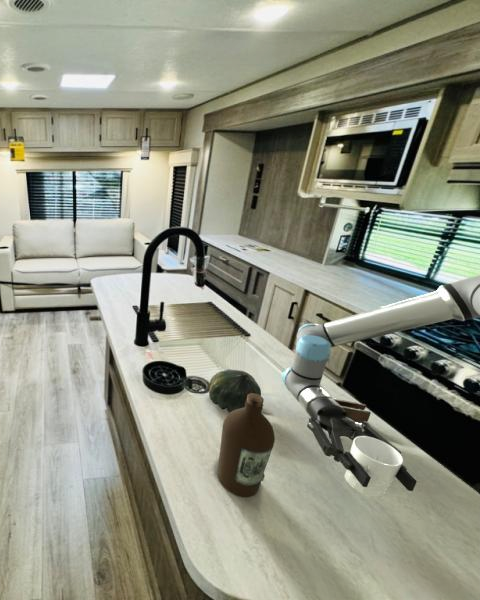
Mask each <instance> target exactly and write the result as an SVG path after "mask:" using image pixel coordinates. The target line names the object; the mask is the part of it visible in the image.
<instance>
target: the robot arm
mask: <svg viewBox="0 0 480 600" xmlns="http://www.w3.org/2000/svg"><path fill="white" fill-rule="evenodd" d="M473 319H480V274H479V275H474V276H471V277H467V278H464V279H460V280H457V281H453V282H450V283H446V284H444V285H440V286H439V287H438V288H437V290H436V291H433V292H429V293H426V294H422V295H418V296H415V297H412V298H408V299H405V300H401V301H398V302H394V303H391V304H388V305H384V306H380V307H377V308H373V309H369V310H367V311H363V312H359V313H356V314H353V315H349V316H346V317H342V318H339V319H335V320H331V321H328V322H323V323H320V324H318V323H306V324H305V323H304V324H302V325H301V326H300V327H299V329H298V331H297V333H296V337H295V338H296V343H295V351H294V357H293V361H292V365H291V366H289V367H287V368H286V369H285V370H284V371H283V372H282V374H281V380H282V382H283V384H284V385H285V387H286V389H287V390H288V391H289V393H291V395H292V396H293V397H294V398H295V400H297V402H298V403H299V405H300V406H301V407H302V409H304V411H305V412H306V414H308V416H309V418H308V421H307V424H306V427H307V428H308V430H310V431H311V432H312V434H313V436H314V438H315V440H316V441H317V443H318V445H319V446H320V449H321V450H322V452H323V454H324V455H325V456H326V457H331V456H332V457H333V461H334V462H337V463H341V464H342V466H343V467H344V468H345V470H346V469H347V470H350V471H351V472H352V474H353V475H354V476H355V477H356V479H357V480H358V481H359V483H360V484H361V485H362V486H363V487H367V486H368V483H369V481H370V479H371V477H370V476H369V475H368V474H367V472H366V471H365V470H364V469H363V468H362V466H361V465H360V464H359V463H358V462H357V460H356V459H355V458H354V457H353V456H352V455H351V453H350V451H345V450H344V446H343V442H342V439H341V437H345V438H348V439H349V440H351V441H352V442H353V440H354V438H356V437H358V436H367V437H372V438H375V439H378V440H381V441H383V442H385V443H387V444H389V445H390V446H392V447H393V448H394V449H396V450H397V451H398V452H399V453H400V454H401V455H402V451H400V449H399V448H398V447H396V446H395V445H393V444H392V443H391V442H390V441H388V440H387V439H386V438H385V437H384V436H382V434H380V433H379V432H378V431H376V430H375V429H374V428H373V427H372V425H370V423H369V422H365V421H363V422H362V424H360V423H355V422H354V421H353V420H351V419H350V418H348V416H347V414H346V412H345V410H344V409H343V408H342V407H341V406H340V405H339V404H338V403H337V402H336V401H335V400H334V399H335V398H334V397H333V396H332V395H330V394H329V392H328V391H327V390H326V389H325V388H324V387H323V386H322V385H321V382H322V380H323V379H322V378H323V374H324V372H325V369H326V365H327V363H328V359H329V357H330V353H331V348H335V347H338V346H343V345H348V344H351V343H355V342H359V341H364V340H369V339H373V338H377V337H381V336H386V335H390V334H394V333H398V332H402V331H407V330H411V329H416V328H419V327H424V326H428V325H432V324H436V323H441V322H445V321H449V320H457V321H461V322H464V321H469V320H473ZM333 398H334V399H333ZM325 431H326V432H327V434H326V432H325ZM395 478H396V479H397V480H398V481H399V482H400V483H401V485H402V486H403V487H404V488H405V489H406V490H407V491H409V492H413V491H414V489H415V487H416V485H417V484H418V480H416V479H415V478H414V476H413V475H412V474H411V473H410V472H409V471H408V468H407V467H406V466H405V465H404V463H402V465H401V467H400V469H399V470H398V472H397V474H396V476H395Z"/></svg>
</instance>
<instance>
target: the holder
mask: <svg viewBox="0 0 480 600" xmlns="http://www.w3.org/2000/svg"><path fill="white" fill-rule="evenodd" d="M332 398H333V399H334V400H335V401H336V402H337V403H338V404H339V405H340V406H341V407H342V408H343V409H344V410H345V412H346V414H347V416H348V418H350V419H351V420H353V421H354V422H355V423H360V424H362V422H363V421H365V422H367V423H369V420H370V416H371V413H372V412H371V411H370V410H366V408H367V405H366V403H360V402H355V401H350V400H344V399H338V398H334V397H332Z"/></svg>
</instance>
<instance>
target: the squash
mask: <svg viewBox="0 0 480 600" xmlns="http://www.w3.org/2000/svg"><path fill="white" fill-rule="evenodd" d="M250 393H254V394H258V395H260V396H261V397H262V390H261V387H260V385H259V383H258V382H257V381H256V379H255V377H253V375H251V374H250V373H248V372H246V371H244V370H240V369H239V370H238V369H225V370H221V371H219V372H217V373H215V374H214V375H212V377H211V378H210V380H209V390H208V395H209V399H210V400H211V402H212V403H213V404H214V405H217V406H218V408H219V409H220V410H223V411H224V410H226V411H227V412H228V413H230V412H232V411H234V410H236V409H240V408H244V407H245V403H246V399H247V396H248V394H250Z"/></svg>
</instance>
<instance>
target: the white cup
mask: <svg viewBox="0 0 480 600" xmlns="http://www.w3.org/2000/svg"><path fill="white" fill-rule="evenodd" d="M349 452H350V453H351V455H352V456H353V457H354V458H355V459H356V460H357V462H358V463H359V464H360V465H361V466H362V468H363V469H364V470H365V471H366V472H367V474H368V475H369V476H370V477H371V479H370V481H369V483H368V486H367V487H363V486H362V485H361V484H360V483H359V481H358V480H357V479H356V477H355V476H354V475H353V474H352V472H351V471H350V470H347V469H346V468H345V471H344V479H345V480H346V482H347V484H348V485H350V487H352V488H353V490H355V491H357V492H359V493H360V494H361V495H364V496H367V497H370V498H381V497H383V496H384V495H385V493H386V492H387V490H388V488H389V487H390V486H391V484H392V482H393V481H394V480H395V478H396V477H395V476H396V474H397V472H398V470H399V469H400V467H401V465H402V464H404V458H403V456H402V453H401V454H400V453H399V452H398V451H397V450H396V449H394V448H393V447H392V446H390V445H389V444H387V443H385V442H383V441H381V440H378V439H375V438H372V437H367V436H358V437H356V438H354V440H353V441H352V444H351V448H350V451H349Z"/></svg>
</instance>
